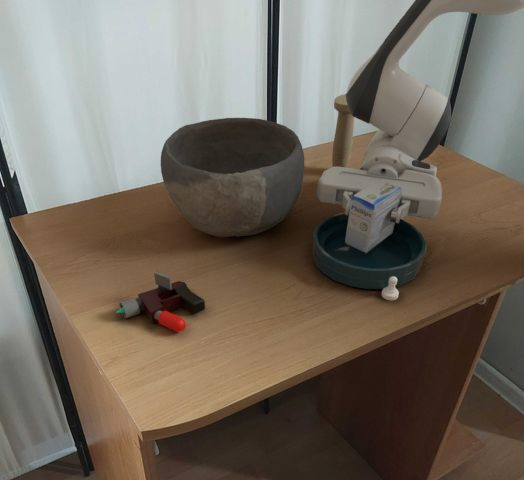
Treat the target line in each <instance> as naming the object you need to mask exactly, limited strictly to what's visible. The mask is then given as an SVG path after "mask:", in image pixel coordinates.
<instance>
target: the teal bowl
mask: <svg viewBox="0 0 524 480" xmlns="http://www.w3.org/2000/svg"><path fill="white" fill-rule="evenodd" d="M345 212H346V211H345ZM345 212H339V213H336V214H333V215H331V216H328V217H326V218H324V219H323V220H322V221H321V222H320V223H318V224H317V225H316V226H315V230H314V232H313V236H312V245H311V255H312V261H313V263H314V264H315V266H316V267H317V268H318V270H319V271H320V272H321V273H323V274H324V275H325V276H327V277H328V278H330V279H331V280H333V281H336V282H338V283H341V284H343V285H346V286H348V287H349V286H350V287H353V288H354V287H355V288H359V289H360V288H361V289H365V290H383V289H384V288H386V287H388V286H389V283H388V282H389V278H390V277H392V276H394V277H396V278H397V284H396V285H395V288H397V287H400V286H403V285H405V284H407V283H409V282H410V281H413V280H414V279H415V278H416V276H417V275H418V274H419V273H420V271H421V270H422V267H423V262H424V258H425V255H426V249H427V242H426V240H425V237H424V235H423V234H422V232H421V231H420V230H419V229H418V228H416V226H414V225H413V224H411V223H409V222H408V221H406V220H404V219H403V218H401V219H400V220H399V223H395V224H394V228H393V232H392V234H391V235H389V236H388V237H387V238H385V239H384V240H383V241H381V242H380V243H379V244H377V245H376V246H375V247H373V248H372V249H371V250H370V251H368V252H367V253H365V252H363V251H360V250H358V249H356V248H354V247H352V246H350V245H348V244H346V243H345V238H346V232H347V225H348V219H349V215H345Z"/></svg>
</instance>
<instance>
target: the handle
mask: <svg viewBox="0 0 524 480" xmlns="http://www.w3.org/2000/svg"><path fill="white" fill-rule="evenodd" d="M333 101H334V102H333V108H334V110H335V111H337V119H336V126H335V132H334V137H333V144H332V157H331V162H332V163H331V164H332V166H331V167H346V168H349V166H350V162H351V156H352V152H353V151H352V150H353V142H354V141H353V140H354V128H355V127H354V126H355V117H353V116H352V115H351V113H350V110H349V108H348V104H347V100H346V93H344V94H340V95H337V96H336V97H335V98H334V99H333Z"/></svg>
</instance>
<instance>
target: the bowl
mask: <svg viewBox="0 0 524 480" xmlns="http://www.w3.org/2000/svg"><path fill="white" fill-rule="evenodd" d="M160 172H161V177H162V180H163V185H164V188H165V190H166V192H167V195H168V196H169V198H170V201H171V202H172V204H173V205H174V207H175V208H176V209H177V211H178V213H179V214H180V215H181V216H182V217H183V218H184V219H185V220H186V221H188V223H189V224H190V225H191V226H192V227H193V228H195V229H196V230H198V231H200V232H202V233H205V234H208V235H211V236H214V237H221V238H225V237H227V238H229V237H245V236H255V235H258V234H260V233H263V232H266V231H268V230H270V229H272V228H275V226H277V225H278V224H280V223H281V222H283V221H284V219H285V218H286V217H287V216H288V215H289V214H290V213H291V211H292V210H293V208H294V206H295V205H296V202H297V200H298V198H299V196H300V194H301V193H300V192H301V189H302V186H303V183H304V173H305V153H304V149H303V146H302V143H301V140H300V138H299V136H298V134H296V133H295V131H294V130H292V129H291V128H289V127H288V126H286V125H283V124H280V123H277V122H275V121H271V120H267V119H262V118H255V117H253V118H252V117H224V118H215V119H214V118H213V119H207V120H204V121H203V120H202V121H199V122H195V123H189V124H185V125H183V126H181V127H179V128H178V129H177V130H175V131H174V132H173V133H171V134H170V136H169V137H168V138H167V139H166V140H165V142H164V144H163V146H162V150H161V153H160Z"/></svg>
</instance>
